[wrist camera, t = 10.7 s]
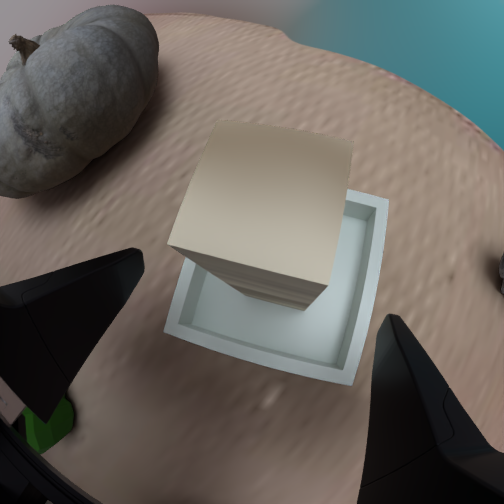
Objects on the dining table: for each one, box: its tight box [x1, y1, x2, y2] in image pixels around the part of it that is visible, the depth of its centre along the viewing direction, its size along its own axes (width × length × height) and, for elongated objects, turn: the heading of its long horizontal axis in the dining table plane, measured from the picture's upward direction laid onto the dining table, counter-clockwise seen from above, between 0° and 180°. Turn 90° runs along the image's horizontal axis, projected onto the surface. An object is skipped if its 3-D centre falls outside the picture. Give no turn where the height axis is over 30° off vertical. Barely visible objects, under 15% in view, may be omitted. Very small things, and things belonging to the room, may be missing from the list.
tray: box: [163, 189, 389, 386], centre depth 17 cm, size 12×12×3 cm
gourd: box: [0, 5, 159, 199], centre depth 19 cm, size 25×25×17 cm
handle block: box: [167, 120, 354, 311], centre depth 13 cm, size 4×4×12 cm
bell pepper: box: [22, 394, 74, 454], centre depth 14 cm, size 8×8×10 cm
